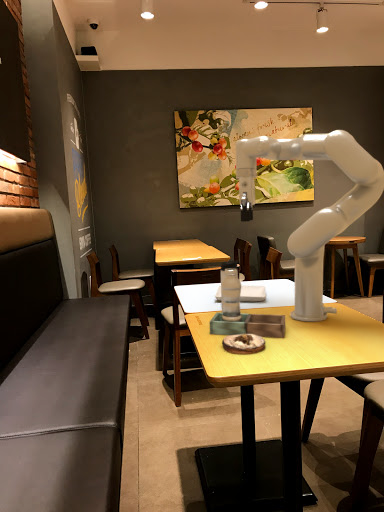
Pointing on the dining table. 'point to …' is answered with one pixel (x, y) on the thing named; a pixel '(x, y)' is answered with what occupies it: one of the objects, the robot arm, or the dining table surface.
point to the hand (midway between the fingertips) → (247, 220)
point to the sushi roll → (243, 343)
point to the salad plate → (248, 293)
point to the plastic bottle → (231, 296)
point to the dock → (250, 325)
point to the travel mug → (224, 266)
